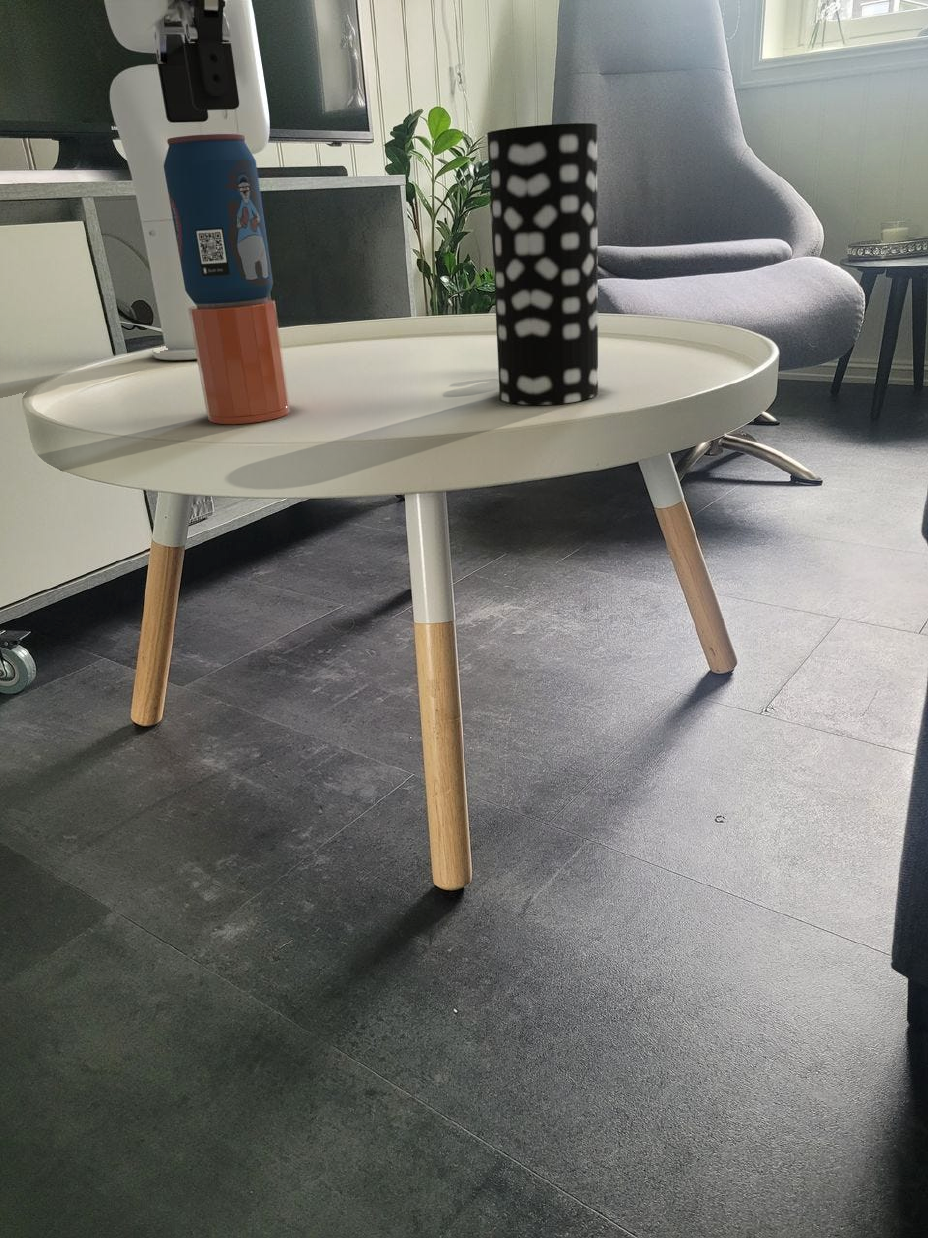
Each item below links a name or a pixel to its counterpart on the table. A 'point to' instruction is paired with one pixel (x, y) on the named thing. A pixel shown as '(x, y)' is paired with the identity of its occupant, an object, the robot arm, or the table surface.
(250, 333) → the coffee cup
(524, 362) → the spotted tube
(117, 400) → the table surface
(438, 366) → the table surface
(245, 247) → the soda can
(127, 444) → the table surface
